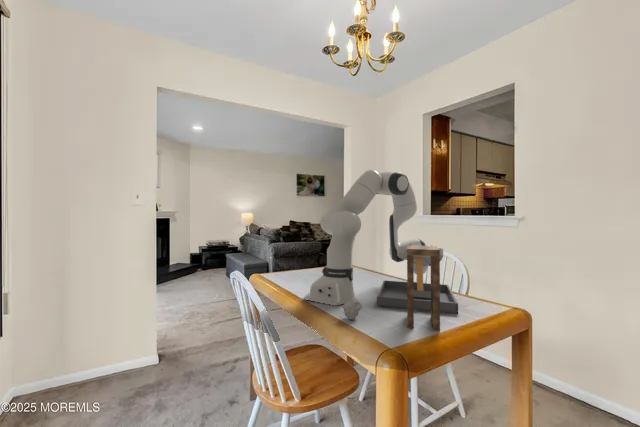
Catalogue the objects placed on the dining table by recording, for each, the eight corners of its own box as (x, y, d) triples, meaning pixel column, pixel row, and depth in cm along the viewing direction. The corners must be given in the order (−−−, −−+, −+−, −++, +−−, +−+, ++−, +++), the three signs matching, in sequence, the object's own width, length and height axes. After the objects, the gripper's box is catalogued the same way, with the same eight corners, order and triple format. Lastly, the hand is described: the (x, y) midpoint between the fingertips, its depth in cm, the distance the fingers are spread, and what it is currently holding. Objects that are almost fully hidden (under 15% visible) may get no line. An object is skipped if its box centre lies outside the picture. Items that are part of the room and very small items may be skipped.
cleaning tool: (409, 299, 123) (409, 296, 121) (409, 257, 138) (409, 254, 136) (431, 301, 120) (432, 297, 118) (429, 258, 135) (429, 254, 133)
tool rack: (407, 327, 94) (407, 248, 94) (407, 315, 106) (407, 245, 106) (440, 331, 91) (439, 249, 91) (436, 318, 103) (436, 246, 103)
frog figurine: (362, 322, 98) (362, 302, 98) (342, 321, 99) (342, 301, 99) (361, 316, 104) (361, 297, 105) (342, 315, 105) (342, 296, 105)
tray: (377, 306, 116) (377, 296, 116) (383, 288, 144) (383, 280, 144) (458, 314, 107) (458, 303, 107) (448, 293, 135) (448, 284, 135)
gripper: (397, 251, 144) (396, 239, 132) (441, 252, 137) (444, 240, 126) (397, 262, 141) (395, 251, 129) (442, 265, 134) (444, 253, 123)
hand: (420, 246), depth 127 cm, fingers open, 8 cm apart
